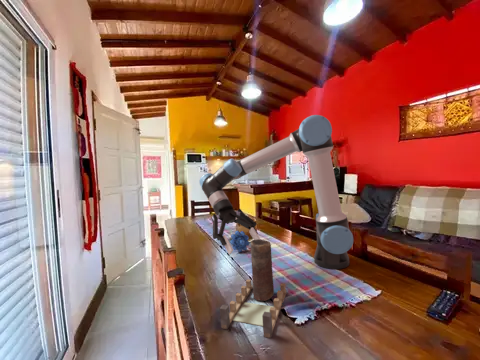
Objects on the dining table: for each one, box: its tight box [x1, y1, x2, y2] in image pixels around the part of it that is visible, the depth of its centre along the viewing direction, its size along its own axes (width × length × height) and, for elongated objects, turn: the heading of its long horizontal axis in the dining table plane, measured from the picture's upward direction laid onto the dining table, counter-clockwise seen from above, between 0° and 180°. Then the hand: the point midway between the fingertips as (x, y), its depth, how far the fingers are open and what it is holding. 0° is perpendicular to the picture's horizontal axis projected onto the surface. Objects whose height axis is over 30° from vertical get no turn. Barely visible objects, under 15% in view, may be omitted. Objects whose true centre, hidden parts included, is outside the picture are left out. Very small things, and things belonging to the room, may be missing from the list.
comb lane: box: [219, 279, 288, 339], centre depth 80 cm, size 15×24×6 cm, turn 158°
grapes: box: [229, 230, 250, 253], centre depth 132 cm, size 12×7×12 cm, turn 119°
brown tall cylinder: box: [250, 238, 275, 301], centre depth 86 cm, size 8×7×20 cm
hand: (245, 247), depth 91 cm, fingers open, 13 cm apart
